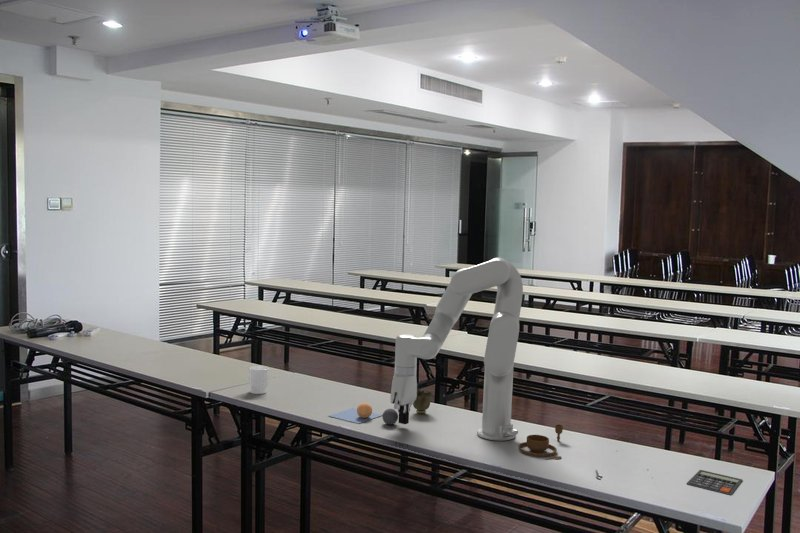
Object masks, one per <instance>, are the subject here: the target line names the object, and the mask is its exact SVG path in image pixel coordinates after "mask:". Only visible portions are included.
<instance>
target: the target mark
mask: <svg viewBox="0 0 800 533" xmlns="http://www.w3.org/2000/svg"><path fill="white" fill-rule="evenodd" d="M382 416H383V414H380V413H376V412H372V414H371V415H370V416H369V417H368V418H361V417H360V416H359V415H358V414H357V408H354V407H352V408H349V409H345V410H343V411H339V412H335V413H332V414H330V415H328V417H329V418H332V419H333V418H334V419H338V420H342V421H346V422H349V423H354V424H357V425H359V424H363V423H366V422H368V421H372V420H374V419H377V418H379V417H382Z"/></svg>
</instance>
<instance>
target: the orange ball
mask: <svg viewBox="0 0 800 533" xmlns="http://www.w3.org/2000/svg"><path fill="white" fill-rule="evenodd" d="M356 409H357V414H358V415H359V416H360V417H361V418H368V417H369V416H370V415H371V414H372V413H373V407H372V405H371V404H370V403H368V402H362V403H359V405H358V406H357V407H356Z"/></svg>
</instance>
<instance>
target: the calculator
mask: <svg viewBox="0 0 800 533" xmlns="http://www.w3.org/2000/svg"><path fill="white" fill-rule="evenodd" d="M742 482H743V479H742V478H737V477H733V476H729V475H724V474H721V473H717V472H712V471H707V470H702V469H699V470H698V471H697V472H696V473H695V474H694V475H693V476H692V477H691V478H690V479H689V480H688V481H687V482H686V485H687V486H691V487H695V488H699V489H703V490H707V491H710V492H711V491H712V492H716V493H719V494H724V495H728V496H732V495H733V494H734V493H735V492H736V489H737V488H739V486H740V485H741V484H742Z"/></svg>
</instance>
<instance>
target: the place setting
mask: <svg viewBox="0 0 800 533" xmlns="http://www.w3.org/2000/svg"><path fill="white" fill-rule="evenodd" d="M563 427H564V426H563V425H562V424H560V423H559V424H555V427H554V429H555V430H554V432H555V433H556V435H557V436H556V442H559V443H560V442H561V441H560V439H561V437H560V436H561V434H563V430H564V428H563ZM517 446H518V451H519V452H520V453H522V454H523V455H525V456H530V457H536V458H545V459H544V460H545V461H548V460H560V459H562V456H559V455H558V456H557V455H556V454H557V447H556V446H555V445H552V444H550V438H549V437H547V436H545V435H541V434H529V435H527V436H526V441H525V442H521V443H519V444H518V445H517ZM525 447H527V448H528V449H529V450H530V451H527V450H525V449H522V448H525ZM548 449H549V450H551V451H552V452H549V453H548V452H547V453H544V452H545V451H547V450H548ZM554 455H556V456H554ZM549 457H551V458H549Z"/></svg>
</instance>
